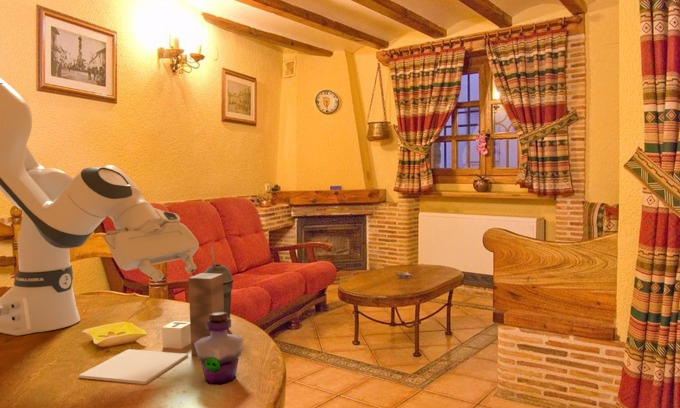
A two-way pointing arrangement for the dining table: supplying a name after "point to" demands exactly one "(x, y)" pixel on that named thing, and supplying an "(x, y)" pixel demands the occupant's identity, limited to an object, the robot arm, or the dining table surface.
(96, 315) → the dining table surface
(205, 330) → the walnut block
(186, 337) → the letter cube
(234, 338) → the potion bottle
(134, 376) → the white square plate
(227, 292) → the beverage cup
